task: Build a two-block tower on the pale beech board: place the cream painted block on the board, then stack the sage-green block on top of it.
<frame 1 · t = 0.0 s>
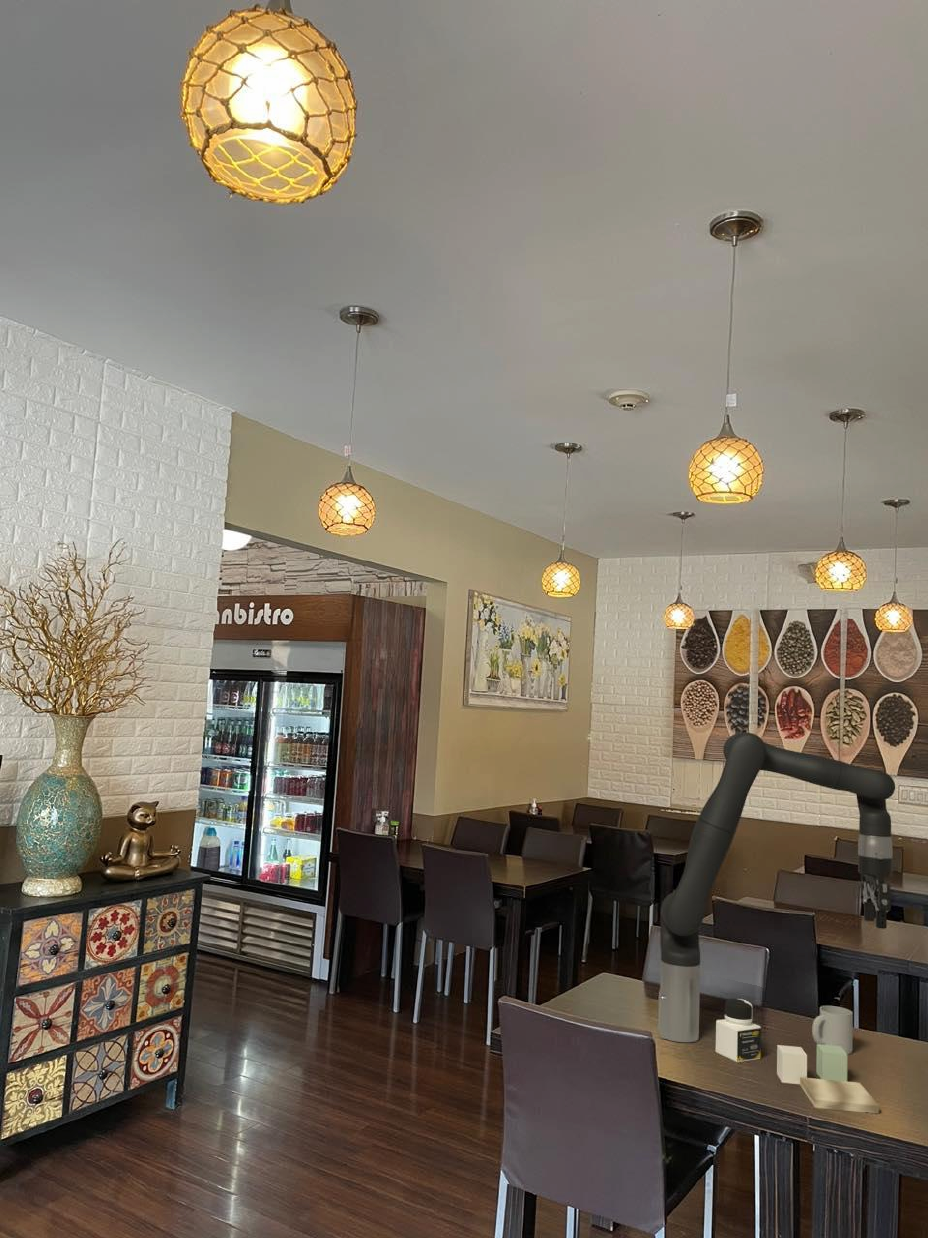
hand: (875, 924, 220), 29 cm above the table, tool pointing down, fingers open, 8 cm apart
cream block: (791, 1079, 197), on the table
beech board: (838, 1099, 188), on the table
medicine bottle: (737, 1057, 210), on the table
sage block: (831, 1078, 199), on the table
cup: (830, 1051, 217), on the table
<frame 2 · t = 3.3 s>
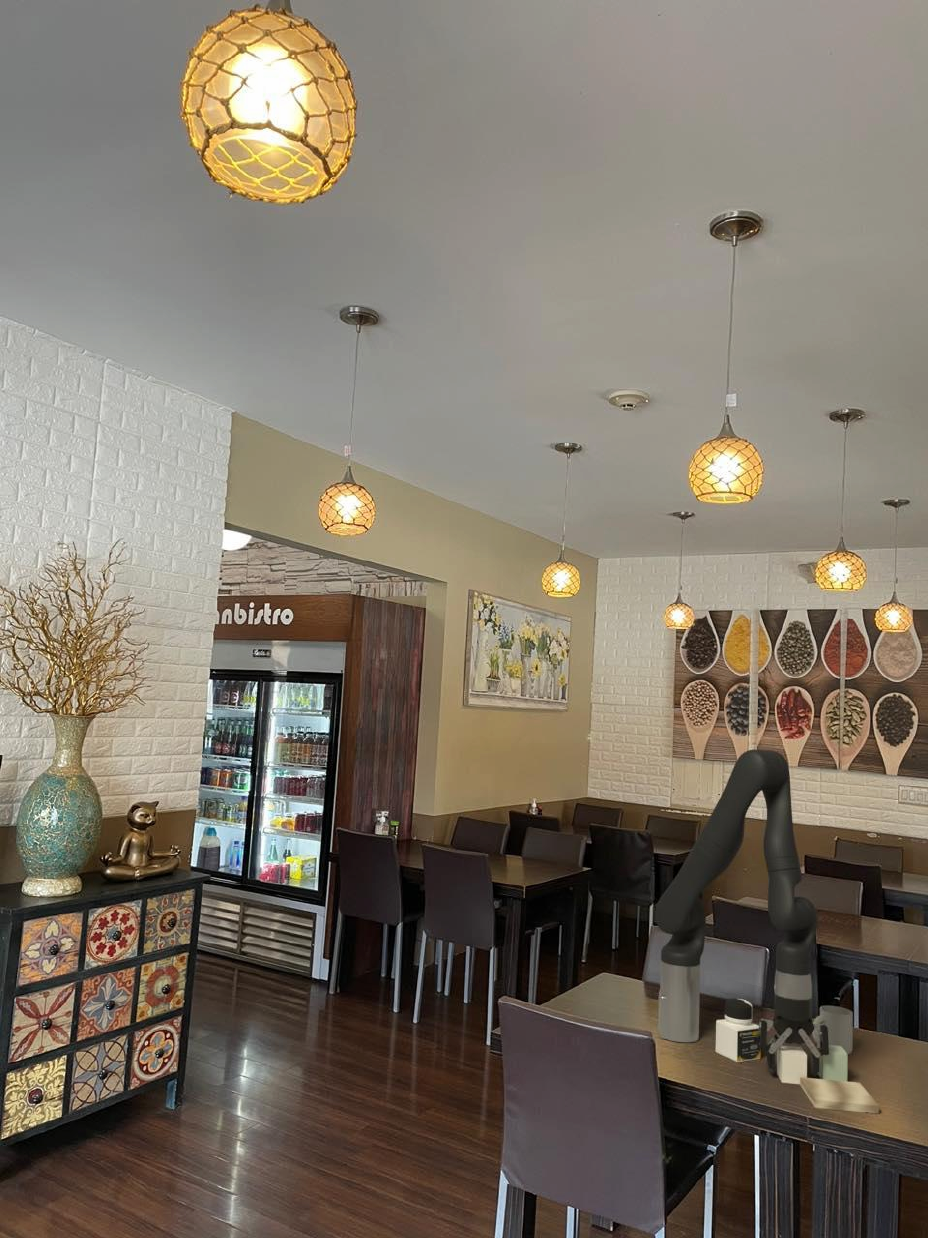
hand: (793, 1073, 197), 1 cm above the table, tool pointing down, fingers open, 8 cm apart
sage block: (831, 1078, 199), on the table, touching hand
everything else where it was.
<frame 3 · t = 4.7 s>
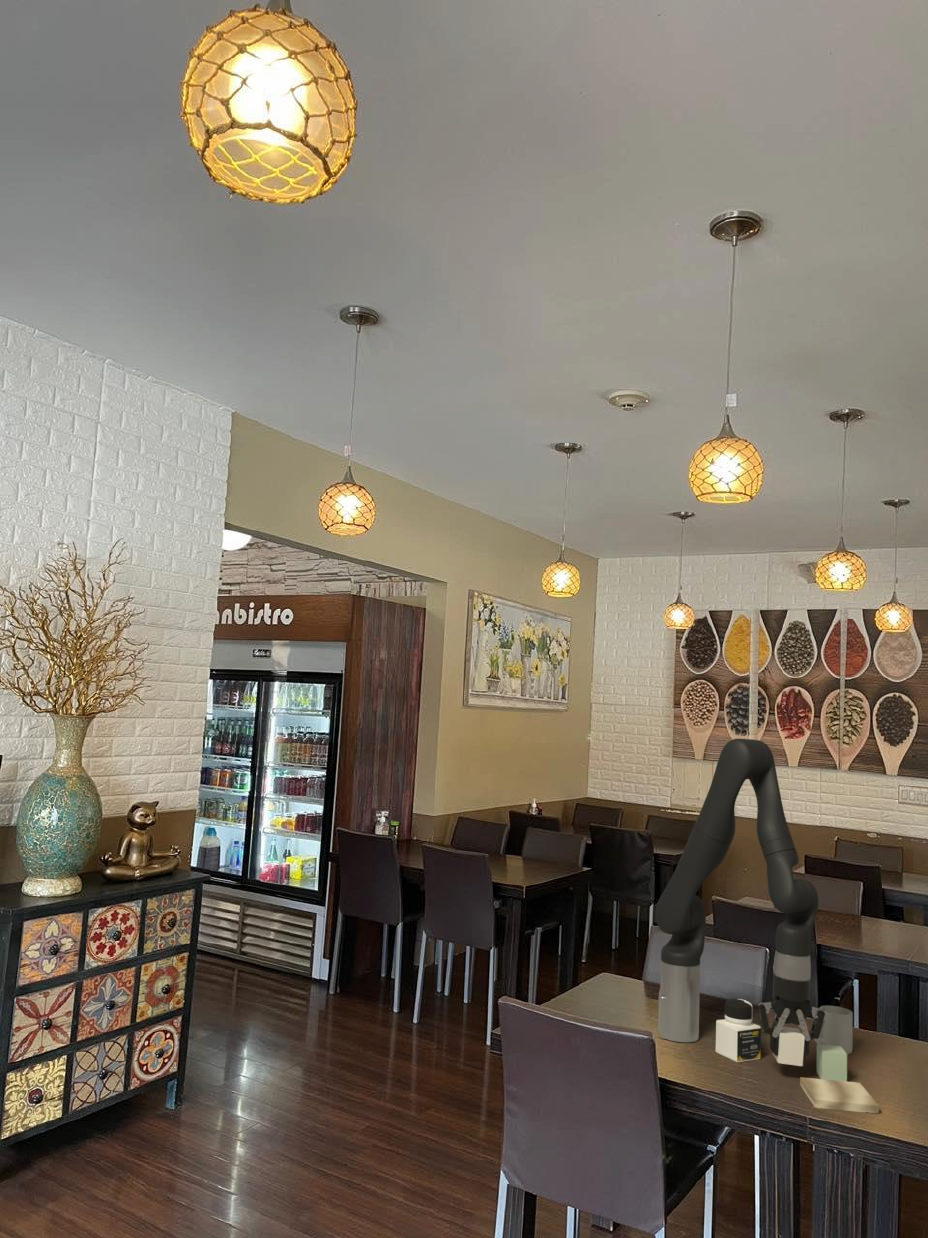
hand: (789, 1055, 198), 5 cm above the table, tool pointing down, fingers closed on cream block, 5 cm apart
cream block: (787, 1060, 199), point 3 cm above the table, touching gripper
sage block: (831, 1078, 199), on the table
everything else where it was.
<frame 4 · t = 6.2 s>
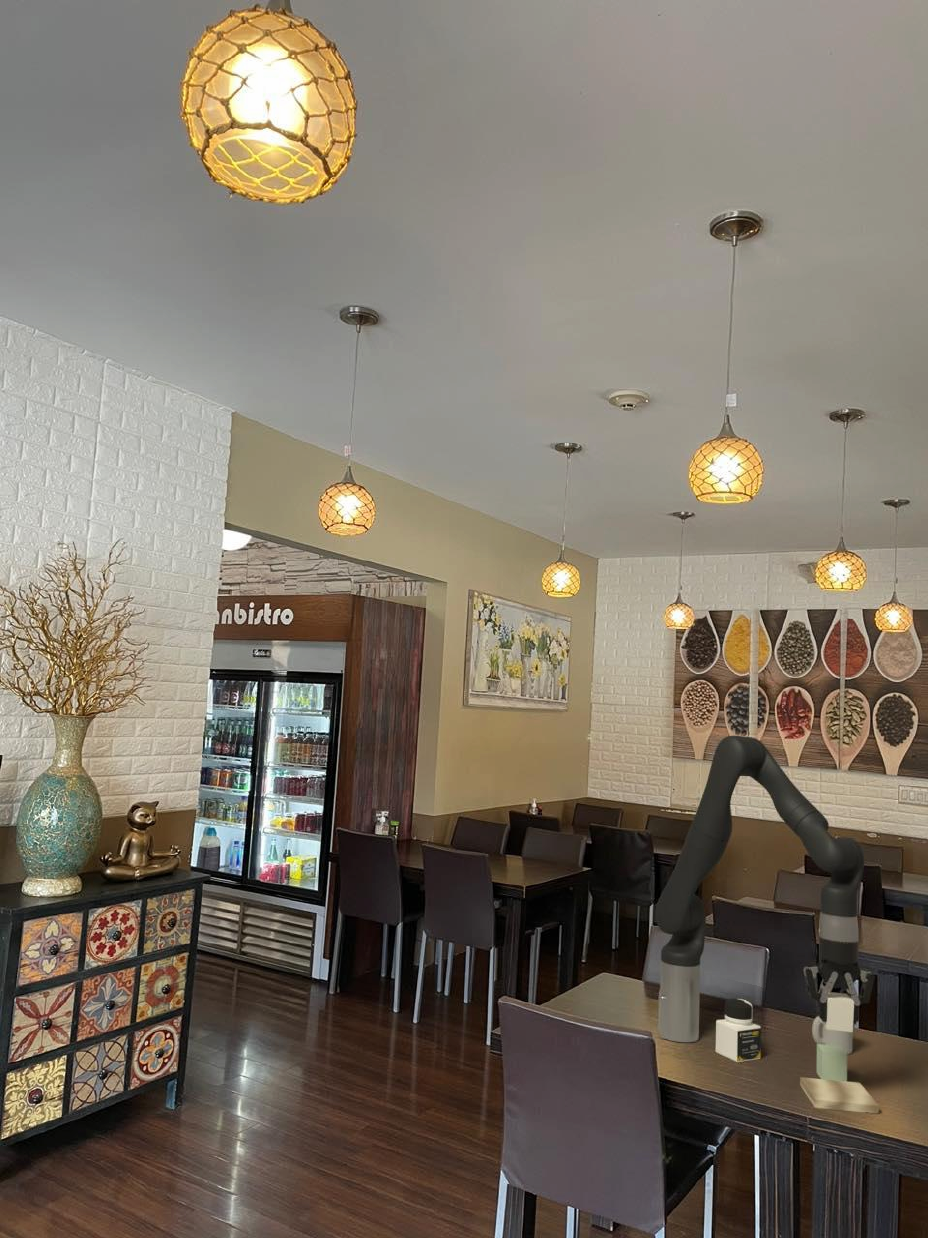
hand: (838, 1022, 189), 15 cm above the table, tool pointing down, fingers closed on cream block, 5 cm apart
cream block: (836, 1026, 190), point 14 cm above the table, touching gripper
everything else where it was.
when the fingers open (3 cm above the table, at t = 8.7 s): cream block stays where it is, resting on beech board.
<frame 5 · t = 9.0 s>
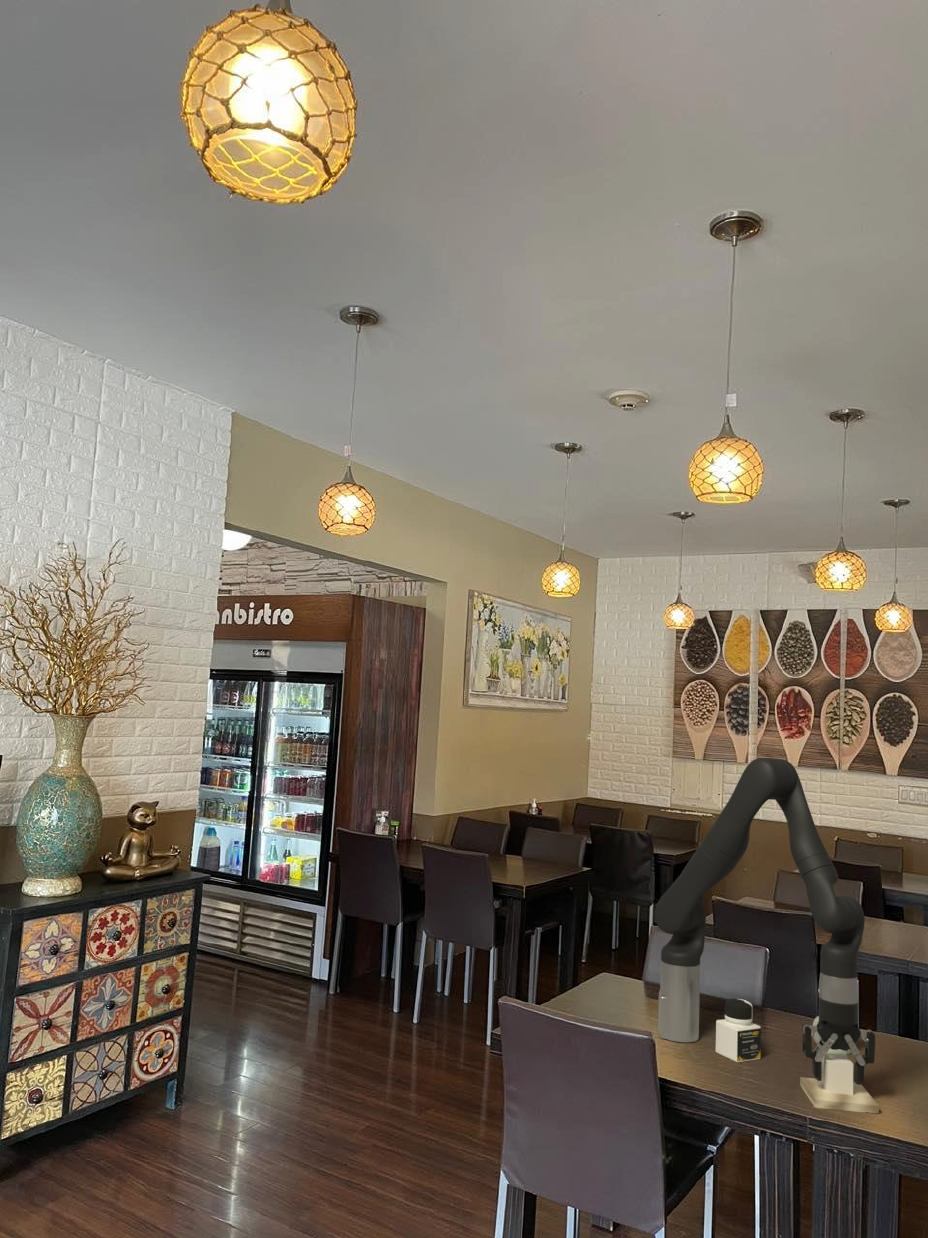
hand: (838, 1081, 188), 3 cm above the table, tool pointing down, fingers open, 7 cm apart
cream block: (836, 1089, 189), point 1 cm above the table, touching beech board
everything else where it was.
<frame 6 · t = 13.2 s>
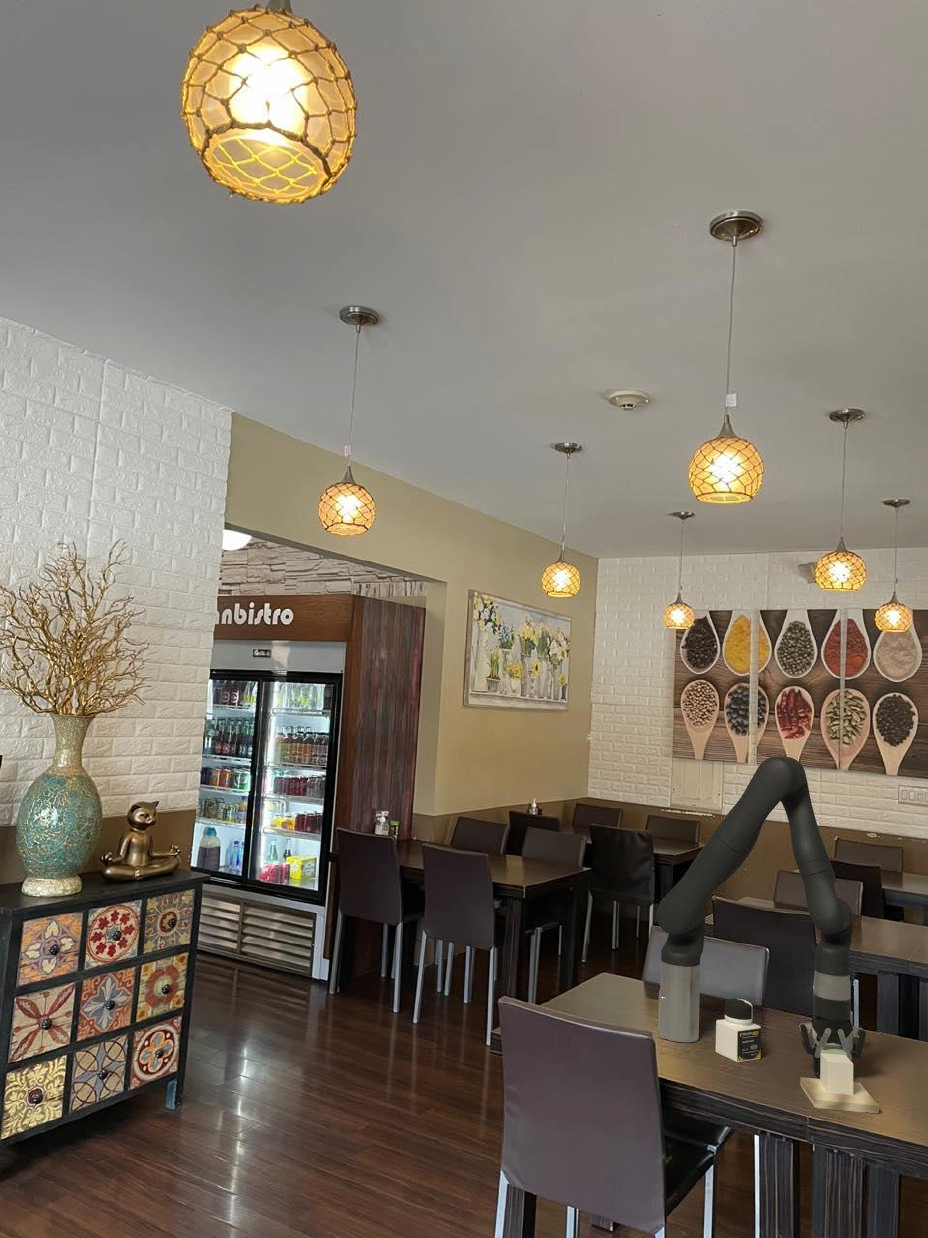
hand: (831, 1075, 199), 0 cm above the table, tool pointing down, fingers closed on sage block, 5 cm apart
sage block: (831, 1077, 199), on the table, touching gripper
everything else where it was.
when the fingers open (9 cm above the table, at t = 18.5 s): sage block stays where it is, resting on cream block.
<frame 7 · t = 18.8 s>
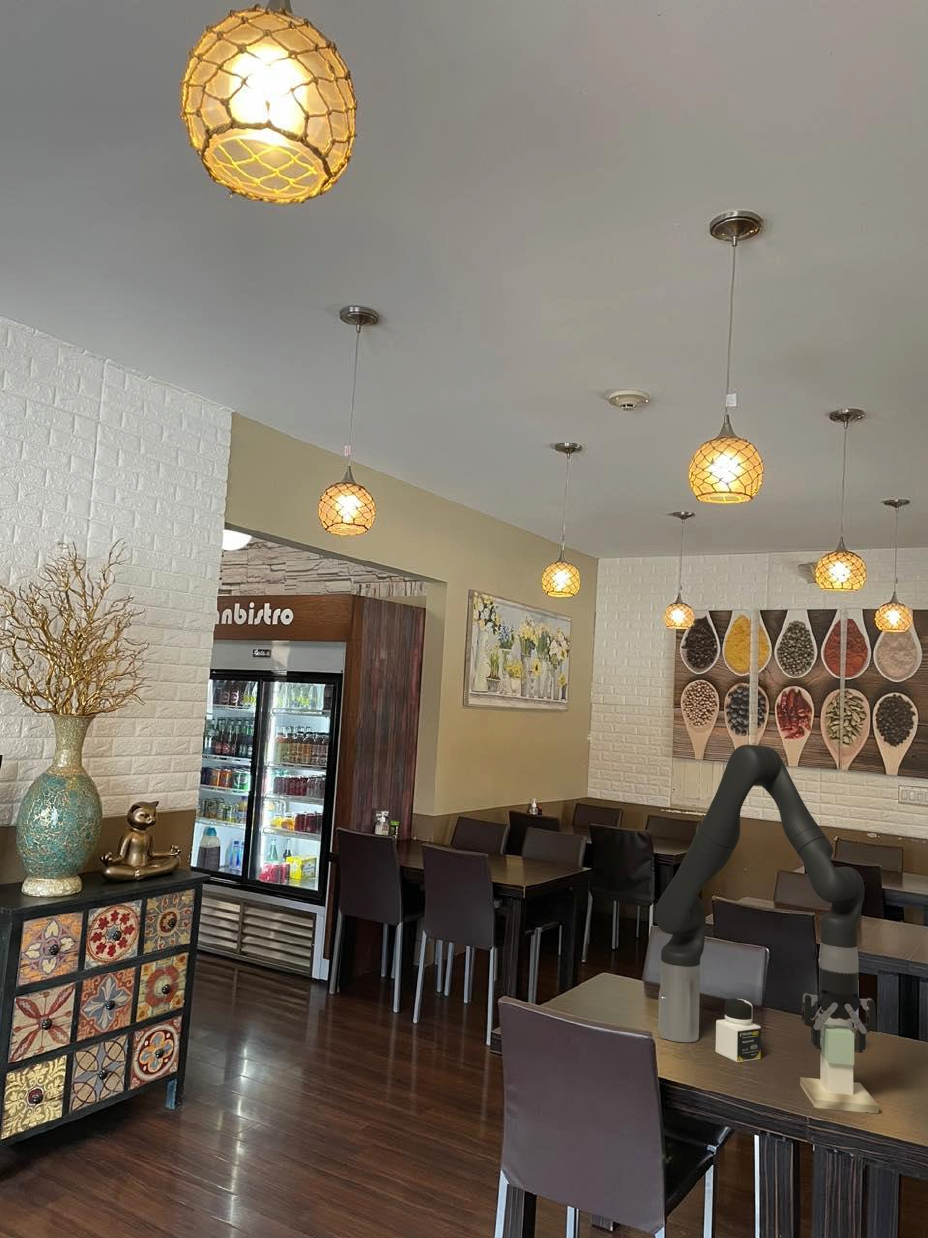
hand: (838, 1049, 189), 10 cm above the table, tool pointing down, fingers open, 8 cm apart
cream block: (836, 1089, 189), point 1 cm above the table, touching beech board, sage block
sage block: (837, 1059, 189), point 7 cm above the table, touching cream block
everything else where it was.
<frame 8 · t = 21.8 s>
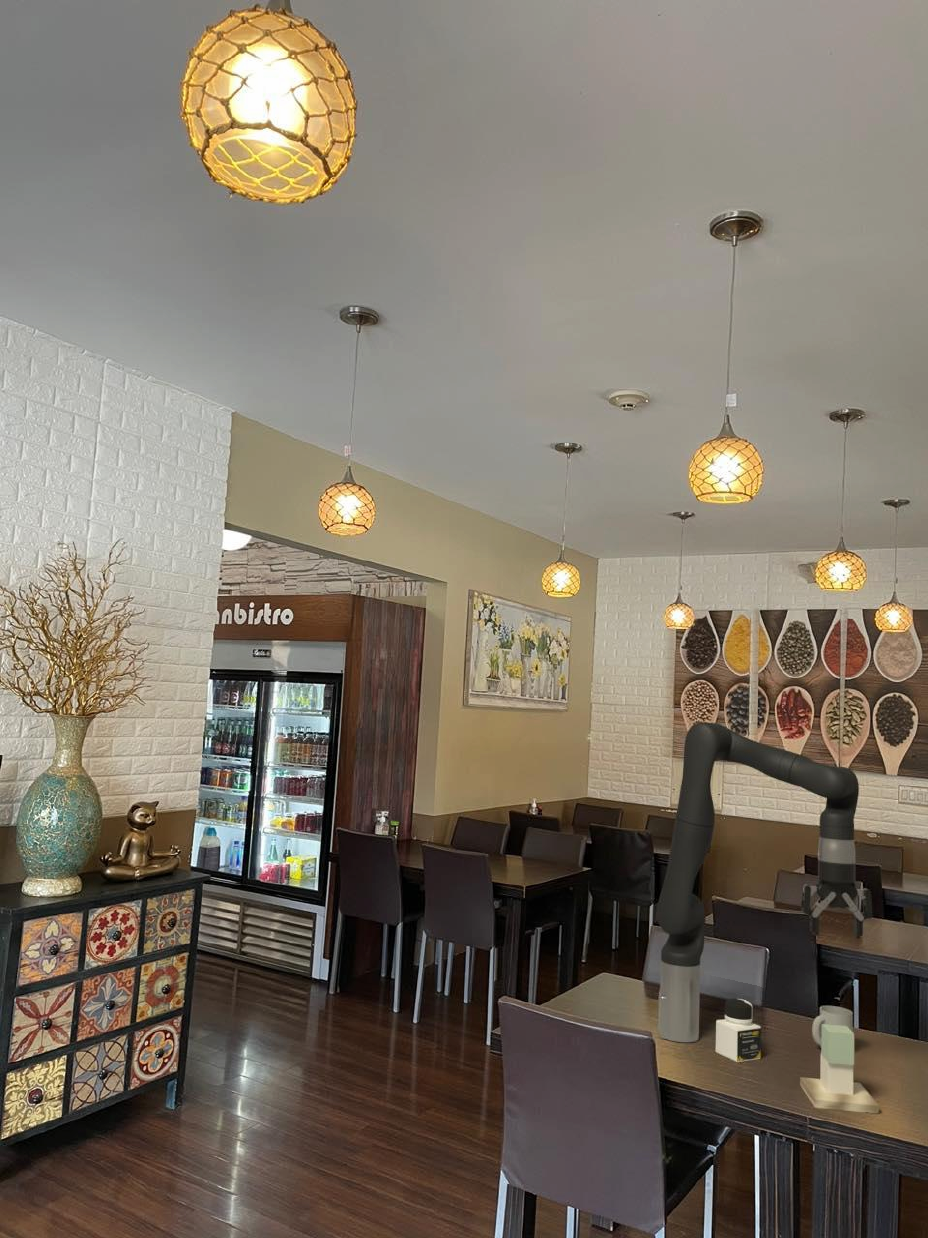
hand: (836, 936, 200), 30 cm above the table, tool pointing down, fingers open, 8 cm apart
nothing on the table moved.
at the end: cream block inside the target area on the beech board (1.0 cm from its centre), point 1.5 cm above the beech board's base; sage block 0.8 cm off-centre on the cream block, point 6.0 cm above the cream block's base; the gripper is holding nothing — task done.
